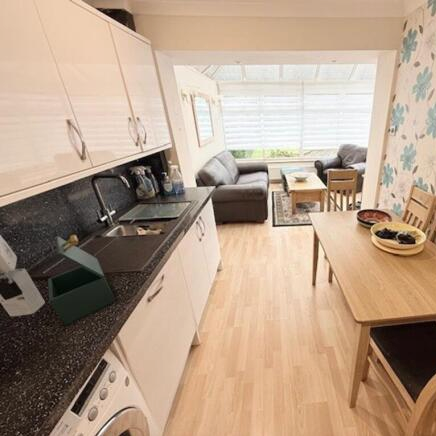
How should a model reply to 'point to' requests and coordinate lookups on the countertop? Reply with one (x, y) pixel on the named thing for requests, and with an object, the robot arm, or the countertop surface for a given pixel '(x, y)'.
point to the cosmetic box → (22, 295)
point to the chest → (78, 293)
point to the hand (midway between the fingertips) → (15, 289)
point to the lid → (77, 255)
